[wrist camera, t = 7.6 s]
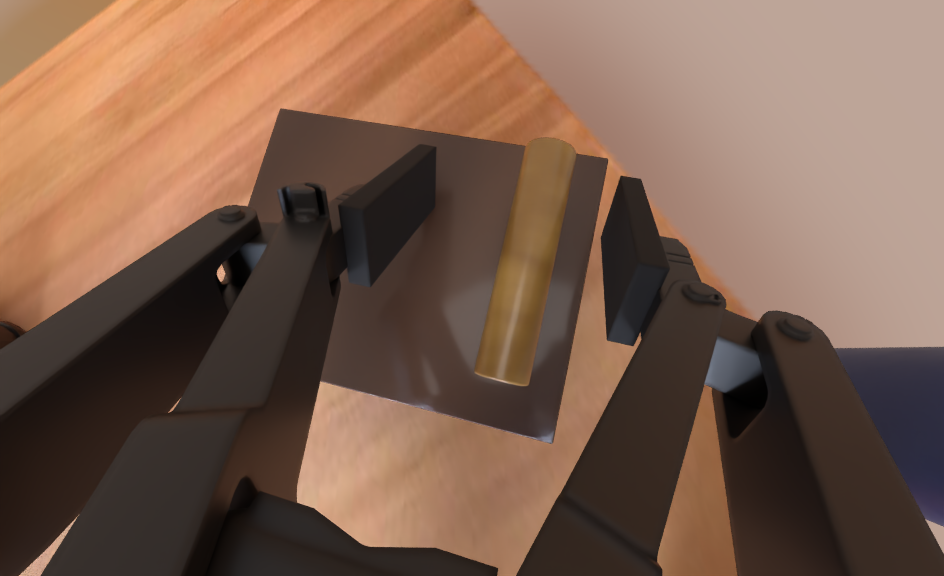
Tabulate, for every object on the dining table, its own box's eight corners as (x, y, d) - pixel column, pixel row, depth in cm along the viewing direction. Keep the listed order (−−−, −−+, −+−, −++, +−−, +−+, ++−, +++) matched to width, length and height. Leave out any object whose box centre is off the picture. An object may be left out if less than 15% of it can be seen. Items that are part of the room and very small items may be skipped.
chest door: (604, 166, 18) (644, 83, 12) (551, 439, 16) (568, 485, 11) (289, 117, 20) (204, 29, 15) (213, 349, 18) (85, 348, 13)
